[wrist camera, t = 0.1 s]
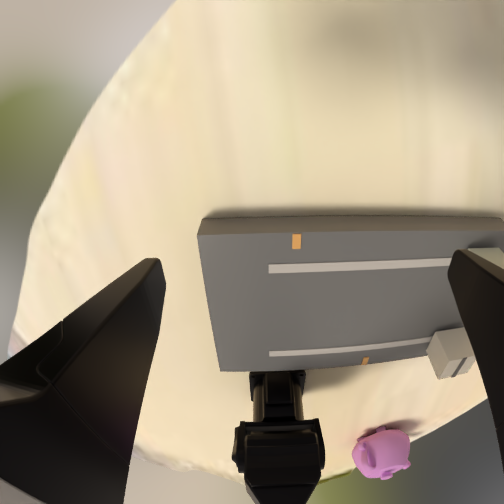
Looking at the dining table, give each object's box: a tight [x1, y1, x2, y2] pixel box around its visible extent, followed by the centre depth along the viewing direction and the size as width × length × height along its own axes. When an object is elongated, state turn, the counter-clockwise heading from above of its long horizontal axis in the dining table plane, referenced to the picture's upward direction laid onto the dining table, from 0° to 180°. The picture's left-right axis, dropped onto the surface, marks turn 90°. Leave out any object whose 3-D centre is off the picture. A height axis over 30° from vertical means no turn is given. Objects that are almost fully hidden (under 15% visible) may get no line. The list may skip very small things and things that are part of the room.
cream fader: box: [426, 327, 476, 379], centre depth 27 cm, size 3×4×4 cm
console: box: [197, 216, 504, 372], centre depth 27 cm, size 16×28×3 cm, turn 92°
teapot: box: [352, 426, 411, 480], centre depth 44 cm, size 10×15×9 cm
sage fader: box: [468, 247, 504, 269], centre depth 21 cm, size 3×4×4 cm
